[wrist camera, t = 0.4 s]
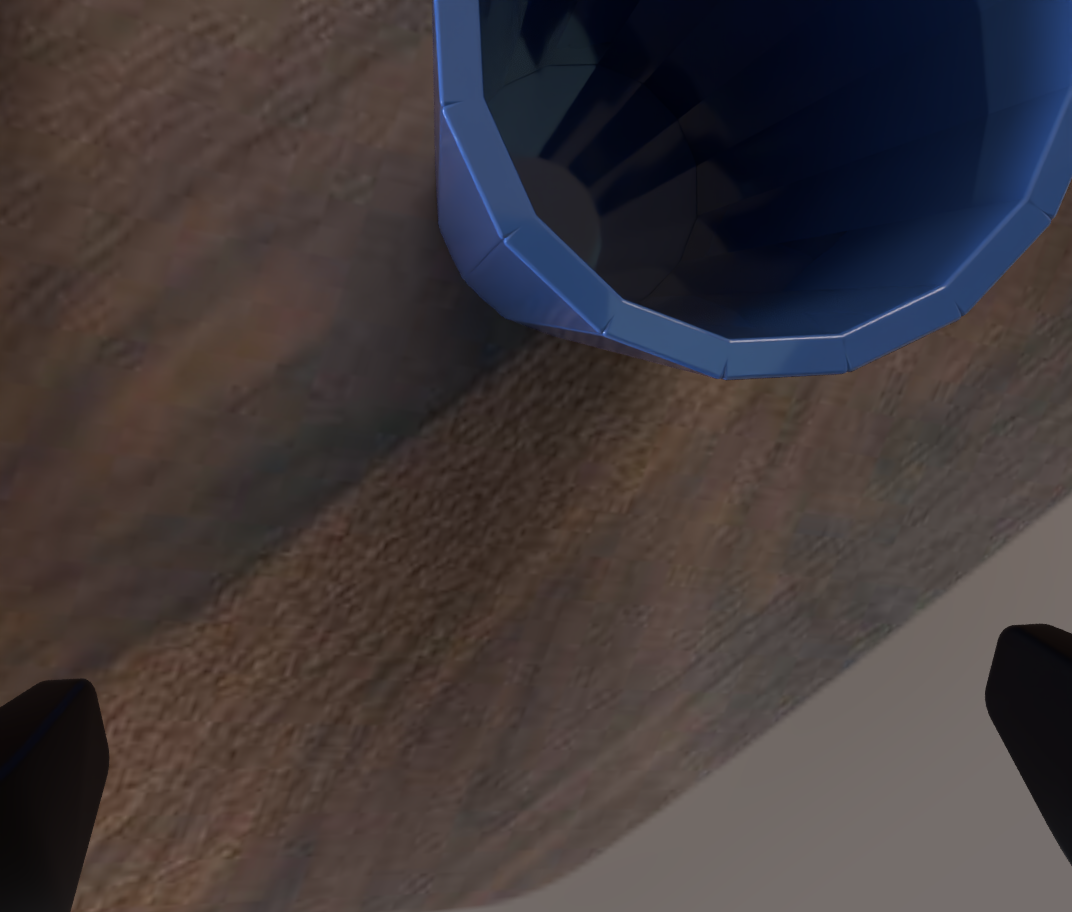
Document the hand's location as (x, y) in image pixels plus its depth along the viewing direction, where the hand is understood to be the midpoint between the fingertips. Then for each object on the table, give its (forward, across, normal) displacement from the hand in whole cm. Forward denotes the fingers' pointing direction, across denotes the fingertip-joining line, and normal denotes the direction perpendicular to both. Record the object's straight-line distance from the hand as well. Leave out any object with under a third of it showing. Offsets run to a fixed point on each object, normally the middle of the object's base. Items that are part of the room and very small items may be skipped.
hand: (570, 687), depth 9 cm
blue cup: (+14, -2, -3) cm, 15 cm away
